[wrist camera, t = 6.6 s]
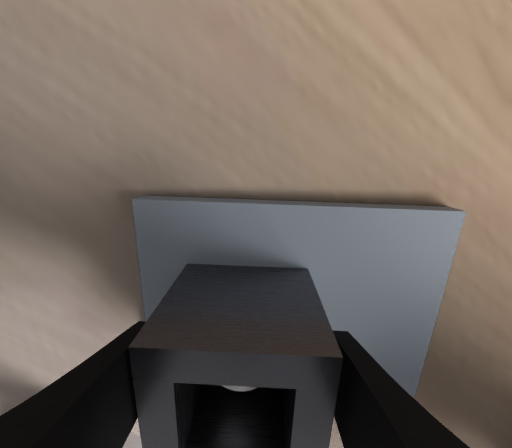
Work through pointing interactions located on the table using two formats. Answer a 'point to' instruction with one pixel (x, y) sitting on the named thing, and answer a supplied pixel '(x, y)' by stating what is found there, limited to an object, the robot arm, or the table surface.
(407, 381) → the plate with peg
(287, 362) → the dark grey hollow block
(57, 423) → the robot arm
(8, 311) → the table surface
